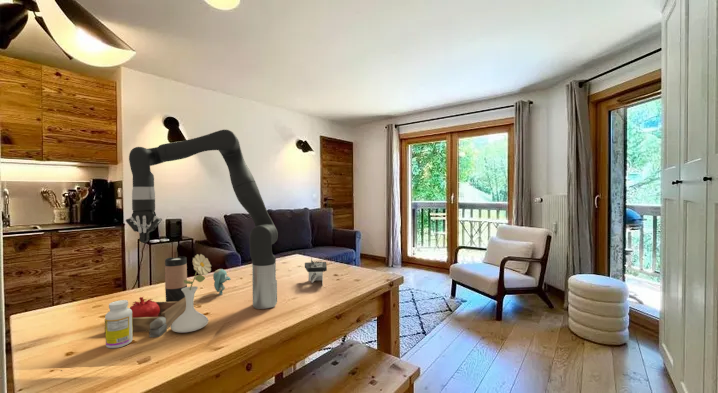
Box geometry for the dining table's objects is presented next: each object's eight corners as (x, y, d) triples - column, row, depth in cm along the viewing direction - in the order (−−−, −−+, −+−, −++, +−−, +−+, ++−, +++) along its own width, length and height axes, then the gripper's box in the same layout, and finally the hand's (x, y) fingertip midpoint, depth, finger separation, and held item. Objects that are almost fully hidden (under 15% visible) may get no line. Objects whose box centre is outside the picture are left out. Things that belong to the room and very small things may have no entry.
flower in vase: (182, 339, 99) (181, 260, 99) (163, 331, 105) (162, 256, 105) (219, 324, 110) (219, 253, 110) (200, 317, 116) (200, 250, 116)
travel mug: (177, 311, 123) (176, 260, 122) (160, 310, 124) (160, 259, 124) (191, 304, 130) (191, 256, 130) (175, 303, 132) (175, 256, 131)
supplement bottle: (115, 339, 100) (114, 299, 99) (137, 338, 100) (136, 298, 100) (99, 349, 93) (99, 306, 93) (123, 348, 93) (123, 305, 93)
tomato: (165, 320, 115) (165, 294, 115) (135, 330, 106) (134, 303, 106) (150, 315, 119) (150, 290, 119) (120, 325, 111) (119, 298, 111)
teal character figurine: (230, 298, 138) (230, 270, 138) (212, 300, 136) (212, 272, 136) (230, 290, 148) (230, 265, 148) (214, 292, 146) (213, 267, 146)
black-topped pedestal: (291, 278, 169) (291, 254, 169) (340, 276, 173) (339, 252, 172) (285, 295, 142) (285, 266, 141) (343, 293, 145) (343, 264, 145)
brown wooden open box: (189, 312, 122) (189, 296, 122) (159, 337, 101) (158, 318, 101) (136, 313, 121) (136, 298, 120) (94, 339, 100) (94, 320, 100)
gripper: (166, 198, 128) (166, 240, 128) (132, 198, 127) (133, 241, 127) (155, 198, 121) (156, 243, 121) (119, 198, 120) (120, 244, 120)
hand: (144, 242), depth 124 cm, fingers closed
